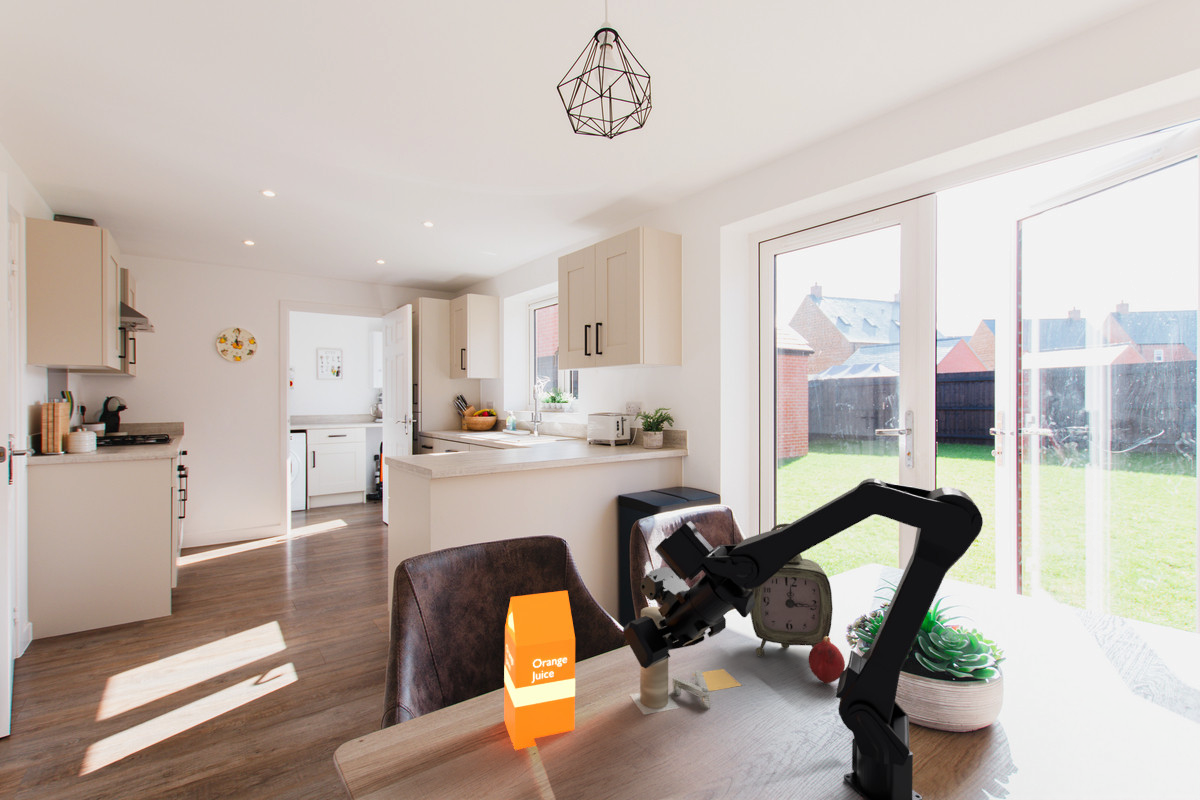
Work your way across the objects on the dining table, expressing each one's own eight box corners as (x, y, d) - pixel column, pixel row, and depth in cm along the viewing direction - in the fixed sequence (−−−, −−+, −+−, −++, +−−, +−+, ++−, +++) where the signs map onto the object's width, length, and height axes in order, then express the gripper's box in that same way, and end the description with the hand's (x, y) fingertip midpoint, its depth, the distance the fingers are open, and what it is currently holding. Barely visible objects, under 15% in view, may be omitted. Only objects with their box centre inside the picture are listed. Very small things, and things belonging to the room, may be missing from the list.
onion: (847, 694, 94) (848, 646, 94) (811, 690, 95) (811, 642, 95) (840, 677, 99) (840, 632, 99) (805, 673, 100) (806, 629, 100)
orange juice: (503, 720, 85) (504, 588, 85) (559, 709, 88) (560, 582, 88) (514, 751, 78) (515, 606, 78) (575, 738, 81) (576, 599, 81)
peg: (672, 705, 87) (673, 615, 87) (646, 710, 86) (647, 618, 86) (660, 691, 92) (661, 605, 92) (635, 695, 90) (636, 608, 90)
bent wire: (723, 707, 88) (723, 690, 88) (689, 713, 86) (689, 697, 86) (700, 683, 95) (700, 669, 95) (668, 689, 93) (668, 674, 93)
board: (773, 717, 87) (773, 710, 87) (654, 741, 80) (654, 733, 80) (725, 674, 100) (725, 668, 100) (619, 692, 93) (619, 685, 93)
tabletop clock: (750, 660, 106) (751, 526, 105) (746, 639, 114) (747, 516, 114) (831, 667, 103) (833, 530, 103) (821, 645, 112) (822, 520, 112)
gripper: (710, 544, 92) (658, 594, 100) (633, 567, 79) (580, 623, 88) (753, 605, 87) (694, 653, 95) (676, 641, 74) (616, 693, 82)
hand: (647, 653), depth 90 cm, fingers closed on peg, 4 cm apart
